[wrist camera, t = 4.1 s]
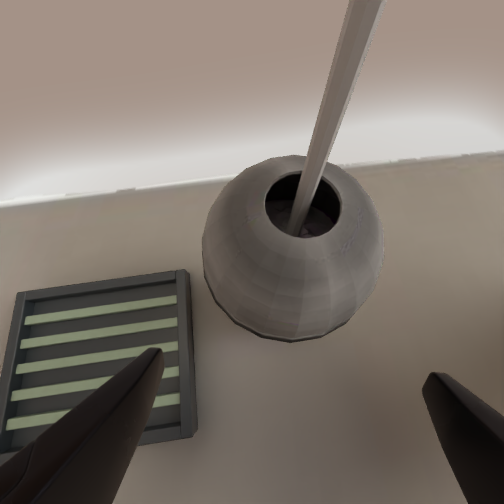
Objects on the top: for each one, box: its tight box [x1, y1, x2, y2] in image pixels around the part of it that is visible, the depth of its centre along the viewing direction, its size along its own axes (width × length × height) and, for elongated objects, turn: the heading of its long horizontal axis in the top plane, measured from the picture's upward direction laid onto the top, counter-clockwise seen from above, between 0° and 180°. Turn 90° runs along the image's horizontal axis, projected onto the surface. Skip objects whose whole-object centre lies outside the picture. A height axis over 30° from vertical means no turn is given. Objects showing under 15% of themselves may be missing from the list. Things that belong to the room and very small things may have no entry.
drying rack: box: [0, 269, 198, 466], centre depth 19 cm, size 14×12×2 cm
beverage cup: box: [202, 0, 387, 343], centre depth 12 cm, size 7×7×20 cm
